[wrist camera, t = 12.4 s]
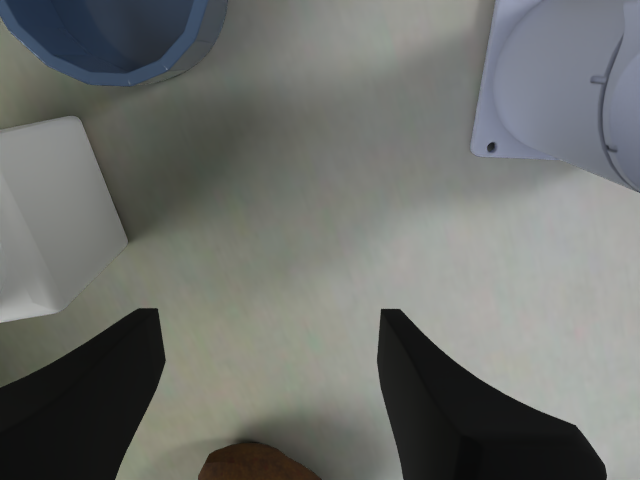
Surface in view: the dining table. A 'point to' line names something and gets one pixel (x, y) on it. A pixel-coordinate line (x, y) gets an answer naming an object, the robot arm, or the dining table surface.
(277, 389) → the dining table surface
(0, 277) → the medicine bottle
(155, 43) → the cup
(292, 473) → the potato
